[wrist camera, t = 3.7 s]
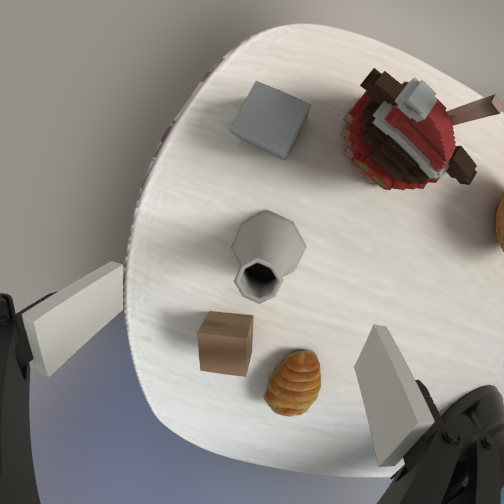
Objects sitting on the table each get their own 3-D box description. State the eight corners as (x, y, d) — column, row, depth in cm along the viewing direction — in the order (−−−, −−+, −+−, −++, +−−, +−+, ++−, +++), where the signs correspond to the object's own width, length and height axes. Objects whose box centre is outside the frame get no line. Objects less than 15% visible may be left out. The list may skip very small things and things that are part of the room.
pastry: (277, 341, 32) (275, 361, 28) (331, 350, 31) (335, 369, 27) (263, 395, 34) (260, 415, 31) (311, 402, 34) (311, 422, 30)
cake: (440, 146, 23) (563, 132, 6) (396, 209, 26) (513, 254, 9) (367, 78, 23) (442, -17, 5) (317, 140, 25) (361, 78, 8)
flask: (220, 247, 29) (187, 281, 20) (266, 196, 27) (254, 206, 18) (270, 293, 30) (260, 344, 20) (318, 246, 28) (332, 280, 18)
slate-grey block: (285, 160, 26) (284, 155, 22) (240, 138, 26) (229, 130, 22) (307, 117, 25) (310, 104, 20) (262, 97, 25) (256, 81, 20)
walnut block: (252, 350, 32) (245, 376, 27) (211, 346, 33) (200, 370, 28) (253, 315, 31) (246, 338, 26) (210, 310, 32) (197, 332, 27)
